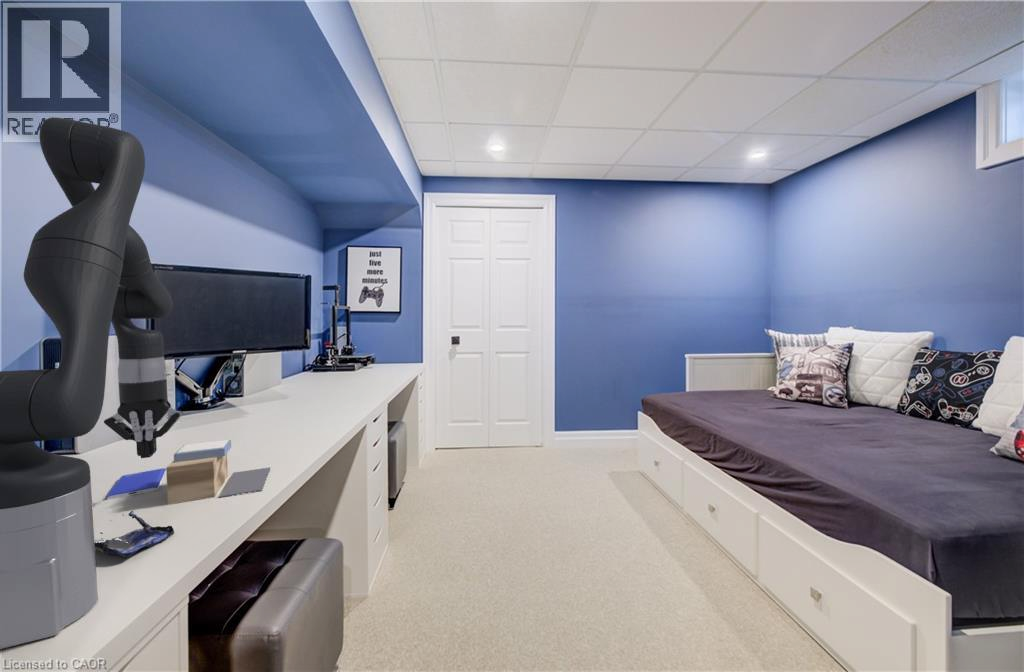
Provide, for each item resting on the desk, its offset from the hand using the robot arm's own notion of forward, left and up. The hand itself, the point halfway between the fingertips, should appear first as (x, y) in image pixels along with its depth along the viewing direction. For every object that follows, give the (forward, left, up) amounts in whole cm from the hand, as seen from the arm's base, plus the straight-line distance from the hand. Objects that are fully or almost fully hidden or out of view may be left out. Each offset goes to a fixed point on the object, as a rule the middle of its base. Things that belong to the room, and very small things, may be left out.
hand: (147, 456), depth 84 cm
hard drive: (+9, +5, -10) cm, 14 cm away
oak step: (0, -9, -9) cm, 13 cm away
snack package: (-22, -4, -10) cm, 24 cm away
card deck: (0, -10, -1) cm, 10 cm away
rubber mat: (0, -18, -9) cm, 20 cm away
